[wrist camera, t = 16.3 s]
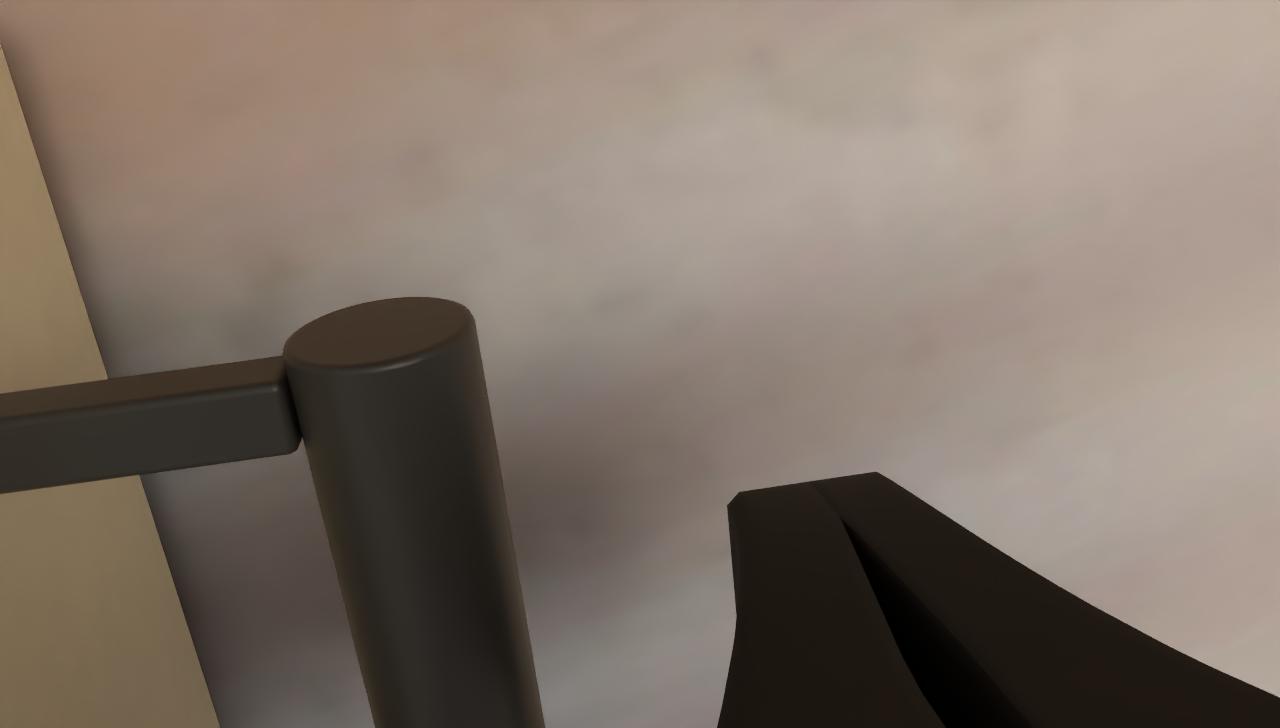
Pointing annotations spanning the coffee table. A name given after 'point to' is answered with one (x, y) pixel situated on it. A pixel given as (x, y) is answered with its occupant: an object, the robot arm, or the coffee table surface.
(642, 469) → the coffee table surface
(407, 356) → the drawer
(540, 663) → the coffee table surface
